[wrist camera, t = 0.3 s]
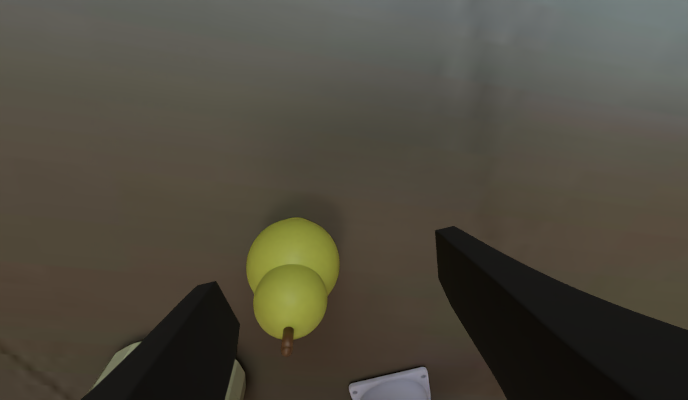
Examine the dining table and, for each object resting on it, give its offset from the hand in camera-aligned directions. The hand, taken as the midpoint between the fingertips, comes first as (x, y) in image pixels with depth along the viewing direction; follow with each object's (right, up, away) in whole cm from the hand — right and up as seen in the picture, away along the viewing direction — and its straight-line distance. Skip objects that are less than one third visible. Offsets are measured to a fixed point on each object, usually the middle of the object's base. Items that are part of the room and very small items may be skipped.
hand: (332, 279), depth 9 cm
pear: (-3, 0, +11) cm, 11 cm away
